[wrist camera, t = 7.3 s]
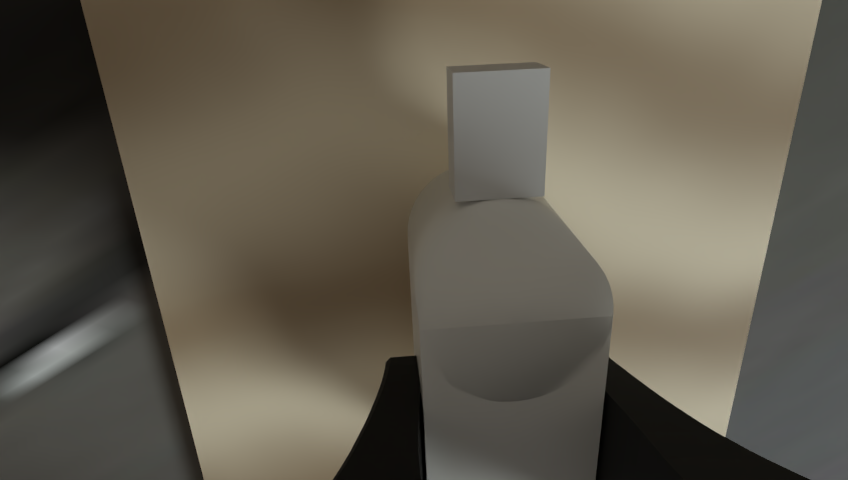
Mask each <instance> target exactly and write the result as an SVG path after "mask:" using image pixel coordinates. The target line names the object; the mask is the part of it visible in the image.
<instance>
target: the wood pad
mask: <svg viewBox="0 0 848 480" xmlns="http://www.w3.org/2000/svg"><path fill="white" fill-rule="evenodd" d="M80 1H81V5H82V9H83V13H84V17H85V21H86V24H87V28H88V32H89V36H90V40H91V44H92V48H93V52H94V55H95V59H96V63H97V67H98V71H99V75H100V79H101V83H102V86H103V90H104V94H105V98H106V102H107V106H108V110H109V114H110V117H111V121H112V125H113V129H114V133H115V137H116V141H117V145H118V148H119V152H120V156H121V160H122V164H123V168H124V172H125V176H126V179H127V183H128V187H129V191H130V195H131V199H132V203H133V207H134V210H135V214H136V218H137V222H138V226H139V230H140V234H141V238H142V241H143V245H144V249H145V253H146V257H147V261H148V265H149V269H150V272H151V276H152V280H153V284H154V288H155V292H156V296H157V300H158V303H159V307H160V311H161V315H162V319H163V323H164V327H165V331H166V334H167V338H168V342H169V346H170V350H171V354H172V358H173V362H174V365H175V369H176V373H177V377H178V381H179V385H180V389H181V393H182V396H183V400H184V404H185V408H186V412H187V416H188V420H189V424H190V427H191V431H192V435H193V439H194V443H195V447H196V451H197V455H198V458H199V462H200V466H201V470H202V474H203V478H204V480H333V479H334V477H335V475H336V474H337V472H338V471H339V469H340V468H341V466H342V464H343V463H344V461H345V459H346V458H347V456H348V454H349V453H350V451H351V449H352V447H353V445H354V443H355V441H356V439H357V437H358V436H359V434H360V432H361V430H362V428H363V426H364V424H365V422H366V420H367V417H368V415H369V413H370V410H371V408H372V406H373V403H374V401H375V399H376V396H377V393H378V390H379V388H380V385H381V382H382V378H383V375H384V370H385V364H386V361H387V360H388V359H389V358H390V357H402V356H414V343H413V324H412V306H411V288H410V270H409V252H408V221H409V216H410V213H411V209H412V207H413V205H414V203H415V201H416V199H417V197H418V196H419V194H420V193H421V191H422V190H423V189H424V188H425V187H426V185H428V184H429V183H430V182H431V181H432V180H433V179H434V178H436V177H437V176H438V175H440V174H441V173H443V172H445V171H447V170H449V161H448V118H447V74H446V66H465V65H485V64H505V63H525V62H538V63H540V64H542V65H545V66H547V67H549V68H551V69H550V90H549V111H548V132H547V153H546V174H545V195H544V196H543V197H544V198H545V200H546V201H547V202H548V203H549V204H550V206H551V207H552V208H553V209H554V210H555V212H556V213H557V214H558V215H559V217H560V218H561V219H562V220H563V221H564V223H565V224H566V225H567V226H568V228H569V229H570V230H571V231H572V232H573V234H574V235H575V236H576V237H577V239H578V240H579V241H580V242H581V243H582V245H583V246H584V247H585V248H586V250H587V251H588V252H589V253H590V254H591V256H592V257H593V258H594V259H595V261H596V262H597V263H598V264H599V266H600V267H601V269H602V270H603V272H604V273H605V275H606V277H607V280H608V282H609V284H610V288H611V291H612V296H613V304H614V307H613V322H612V332H611V341H610V350H609V358H610V359H612V360H613V361H614V362H616V363H617V364H618V365H620V366H621V367H622V368H623V369H625V370H626V371H627V372H629V373H630V374H631V375H633V376H634V377H635V378H637V379H638V380H639V381H641V382H642V383H643V384H645V385H646V386H647V387H649V388H650V389H651V390H653V391H654V392H656V393H657V394H658V395H660V396H661V397H663V398H664V399H666V400H667V401H668V402H670V403H671V404H673V405H674V406H676V407H677V408H679V409H680V410H682V411H683V412H685V413H686V414H688V415H689V416H691V417H693V418H694V419H696V420H697V421H699V422H700V423H702V424H704V425H705V426H707V427H708V428H710V429H712V430H713V431H715V432H717V433H719V434H720V435H722V436H724V437H725V436H726V431H727V427H728V422H729V418H730V413H731V409H732V404H733V400H734V395H735V391H736V386H737V382H738V377H739V373H740V368H741V364H742V359H743V355H744V350H745V346H746V341H747V337H748V332H749V328H750V323H751V319H752V314H753V309H754V305H755V300H756V296H757V291H758V287H759V282H760V278H761V273H762V269H763V264H764V260H765V255H766V251H767V246H768V242H769V237H770V233H771V228H772V224H773V219H774V215H775V210H776V206H777V201H778V197H779V192H780V188H781V183H782V179H783V174H784V170H785V165H786V161H787V156H788V152H789V147H790V143H791V138H792V134H793V129H794V125H795V120H796V116H797V111H798V106H799V102H800V97H801V93H802V88H803V84H804V79H805V75H806V70H807V66H808V61H809V57H810V52H811V48H812V43H813V39H814V34H815V30H816V25H817V21H818V16H819V12H820V7H821V3H822V0H80Z"/></svg>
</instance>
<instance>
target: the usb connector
mask: <svg viewBox="0 0 848 480" xmlns="http://www.w3.org/2000/svg"><path fill="white" fill-rule="evenodd" d="M550 69H551V68H549V67H547V66H545V65H542V64H540V63H538V62H525V63H505V64H485V65H465V66H446V74H447V118H448V161H449V170H447V171H445V172H443V173H441V174H440V175H438V176H437V177H436V178H434V179H433V180H432V181H431V182H430V183H429V184H428V185H426V187H425V188H424V189H423V190H422V191H421V193H420V194H419V196H418V197H417V199H416V201H415V203H414V205H413V207H412V209H411V213H410V216H409V221H408V252H409V270H410V288H411V306H412V324H413V343H414V356H415V355H416V356H417V363H418V370H419V378H420V388H421V408H422V428H423V447H424V467H425V480H596V470H597V461H598V452H599V443H600V433H601V424H602V415H603V406H604V396H605V387H606V378H607V369H608V359H609V350H610V341H611V332H612V322H613V307H614V304H613V296H612V291H611V288H610V284H609V282H608V280H607V277H606V275H605V273H604V272H603V270H602V269H601V267H600V266H599V264H598V263H597V262H596V261H595V259H594V258H593V257H592V256H591V254H590V253H589V252H588V251H587V250H586V248H585V247H584V246H583V245H582V243H581V242H580V241H579V240H578V239H577V237H576V236H575V235H574V234H573V232H572V231H571V230H570V229H569V228H568V226H567V225H566V224H565V223H564V221H563V220H562V219H561V218H560V217H559V215H558V214H557V213H556V212H555V210H554V209H553V208H552V207H551V206H550V204H549V203H548V202H547V201H546V200H545V198H544V197H543V196H544V195H545V174H546V153H547V132H548V111H549V90H550Z"/></svg>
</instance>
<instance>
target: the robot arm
mask: <svg viewBox="0 0 848 480" xmlns="http://www.w3.org/2000/svg"><path fill="white" fill-rule="evenodd" d="M333 480H425V467H424V447H423V428H422V408H421V388H420V378H419V370H418V363H417V356H416V355H415V356H402V357H390V358H389V359H388V360H387V361H386V364H385V370H384V375H383V378H382V382H381V385H380V388H379V390H378V393H377V396H376V399H375V401H374V403H373V406H372V408H371V410H370V413H369V415H368V417H367V420H366V422H365V424H364V426H363V428H362V430H361V432H360V434H359V436H358V437H357V439H356V441H355V443H354V445H353V447H352V449H351V451H350V453H349V454H348V456H347V458H346V459H345V461H344V463H343V464H342V466H341V468H340V469H339V471H338V472H337V474H336V475H335V477H334V479H333ZM596 480H810V479H808V478H805V477H803V476H801V475H799V474H797V473H794V472H792V471H790V470H788V469H786V468H784V467H782V466H780V465H777V464H775V463H773V462H771V461H769V460H767V459H765V458H763V457H761V456H759V455H757V454H755V453H753V452H751V451H749V450H747V449H746V448H744V447H742V446H740V445H738V444H737V443H735V442H733V441H731V440H729V439H728V438H726V437H724V436H722V435H720V434H719V433H717V432H715V431H713V430H712V429H710V428H708V427H707V426H705V425H704V424H702V423H700V422H699V421H697V420H696V419H694V418H693V417H691V416H689V415H688V414H686V413H685V412H683V411H682V410H680V409H679V408H677V407H676V406H674V405H673V404H671V403H670V402H668V401H667V400H666V399H664V398H663V397H661V396H660V395H658V394H657V393H656V392H654V391H653V390H651V389H650V388H649V387H647V386H646V385H645V384H643V383H642V382H641V381H639V380H638V379H637V378H635V377H634V376H633V375H631V374H630V373H629V372H627V371H626V370H625V369H623V368H622V367H621V366H620V365H618V364H617V363H616V362H614V361H613V360H612V359H610V358H609V359H608V369H607V378H606V387H605V396H604V406H603V415H602V424H601V433H600V443H599V452H598V461H597V470H596Z"/></svg>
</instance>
